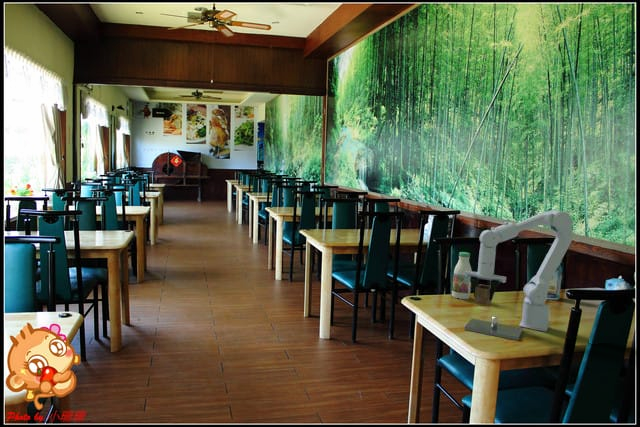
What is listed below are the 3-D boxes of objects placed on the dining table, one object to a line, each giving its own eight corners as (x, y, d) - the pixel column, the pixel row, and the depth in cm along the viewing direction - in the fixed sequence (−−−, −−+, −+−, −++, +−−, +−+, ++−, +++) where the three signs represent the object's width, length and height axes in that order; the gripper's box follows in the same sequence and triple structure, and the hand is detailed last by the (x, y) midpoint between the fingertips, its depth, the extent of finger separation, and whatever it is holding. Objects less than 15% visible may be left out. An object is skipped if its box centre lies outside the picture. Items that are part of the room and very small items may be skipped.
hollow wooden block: (491, 301, 199) (492, 286, 199) (487, 305, 193) (489, 289, 193) (477, 299, 202) (479, 284, 201) (473, 303, 196) (475, 287, 195)
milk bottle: (456, 294, 238) (460, 250, 236) (472, 297, 233) (476, 253, 231) (448, 296, 232) (452, 252, 230) (465, 300, 227) (469, 255, 225)
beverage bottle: (563, 300, 240) (568, 256, 238) (547, 300, 238) (552, 256, 236) (551, 295, 248) (556, 253, 246) (535, 295, 246) (540, 252, 244)
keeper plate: (522, 331, 189) (524, 317, 188) (518, 340, 178) (519, 326, 178) (471, 321, 197) (472, 308, 197) (464, 329, 187) (465, 316, 186)
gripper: (508, 263, 196) (505, 299, 197) (469, 258, 203) (466, 292, 204) (505, 266, 190) (501, 303, 191) (464, 260, 197) (461, 296, 198)
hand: (483, 298), depth 197 cm, fingers closed on hollow wooden block, 5 cm apart
